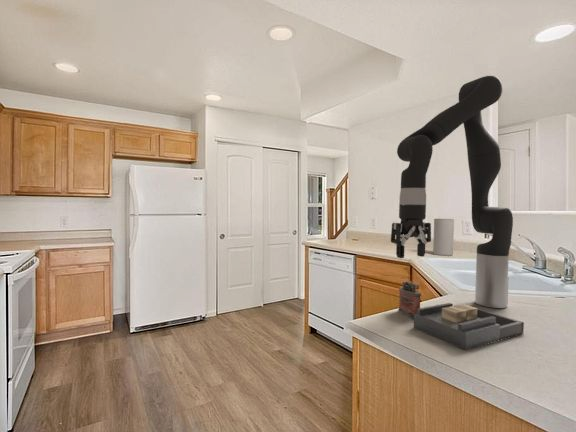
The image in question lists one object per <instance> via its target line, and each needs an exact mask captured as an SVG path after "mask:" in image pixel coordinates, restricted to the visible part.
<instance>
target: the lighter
mask: <svg viewBox="0 0 576 432" xmlns="http://www.w3.org/2000/svg"><path fill="white" fill-rule="evenodd" d="M419 287H420V285H419V284H417V283H414V282H413V281H406V280H403V281H402V286H399V287H398V291H399V299H398V301H399V303H398V304H399V305H398V308H397V309H398V313H400V314H402V315H403V316H406V317H408V318H411V319H414V313H417V309H419V308H421V296H422V292H420V291H418V290H419V289H420V288H419Z"/></svg>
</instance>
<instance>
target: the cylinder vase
mask: <svg viewBox="0 0 576 432" xmlns="http://www.w3.org/2000/svg"><path fill="white" fill-rule="evenodd" d="M454 224H455V219H454V218H434V219H433V242H432V243H433V245H432V248H433V249H432V251H433V255H435V256H441V255H444V256H443V257H449V256H450V257H451V255H452V256H453V254H454V237H455V236H454V235H455V233H454V231H455V225H454Z"/></svg>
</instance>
